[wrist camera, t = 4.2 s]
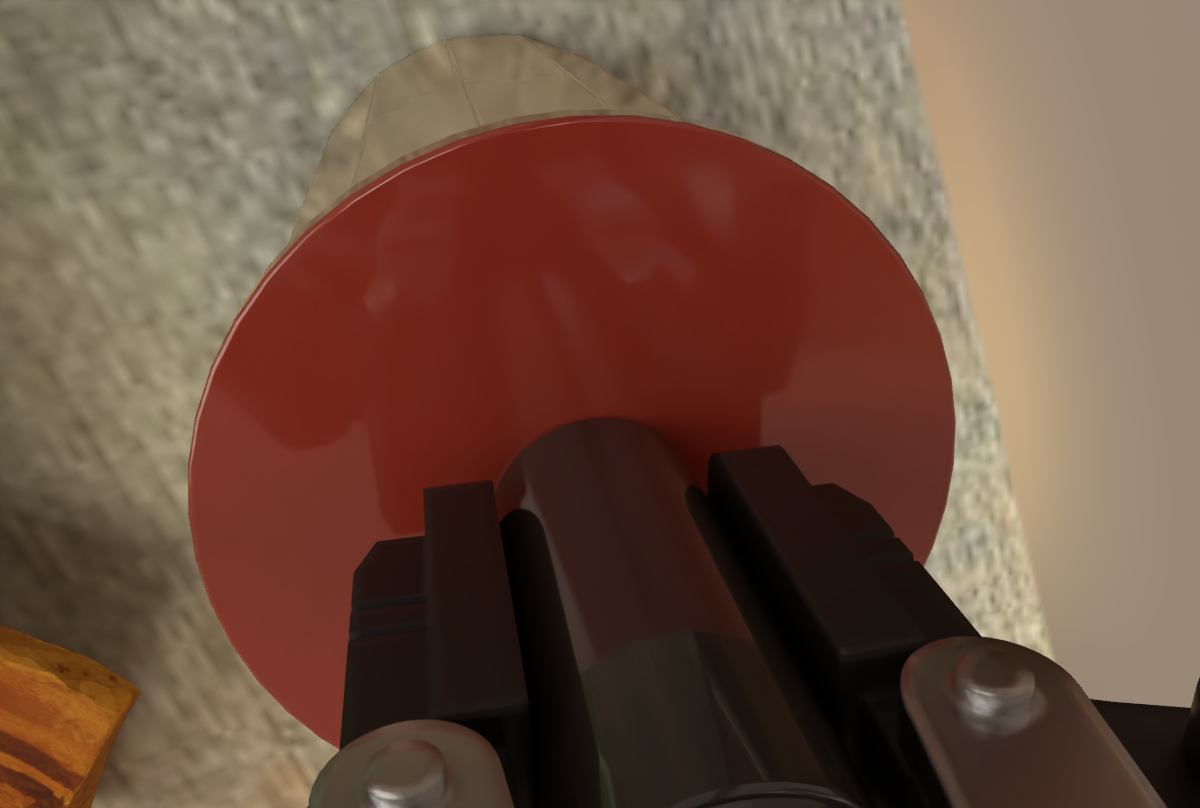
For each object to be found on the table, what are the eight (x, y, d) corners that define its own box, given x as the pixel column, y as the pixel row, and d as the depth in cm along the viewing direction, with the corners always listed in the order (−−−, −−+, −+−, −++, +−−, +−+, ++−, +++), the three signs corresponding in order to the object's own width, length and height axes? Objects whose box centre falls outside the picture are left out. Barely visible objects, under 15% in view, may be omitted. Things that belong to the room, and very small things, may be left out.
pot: (290, 46, 22) (148, 172, 10) (661, 23, 23) (946, 110, 11) (346, 393, 25) (292, 804, 13) (667, 358, 26) (890, 708, 14)
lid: (122, 131, 10) (-268, 394, 4) (947, 72, 11) (1537, 212, 5) (277, 791, 14) (184, 1424, 8) (889, 693, 15) (1205, 1178, 9)
